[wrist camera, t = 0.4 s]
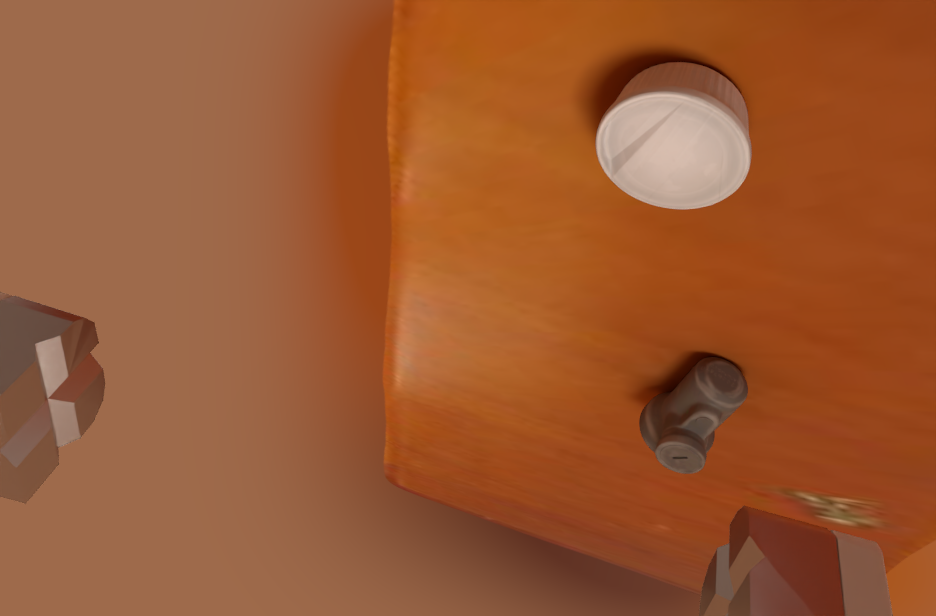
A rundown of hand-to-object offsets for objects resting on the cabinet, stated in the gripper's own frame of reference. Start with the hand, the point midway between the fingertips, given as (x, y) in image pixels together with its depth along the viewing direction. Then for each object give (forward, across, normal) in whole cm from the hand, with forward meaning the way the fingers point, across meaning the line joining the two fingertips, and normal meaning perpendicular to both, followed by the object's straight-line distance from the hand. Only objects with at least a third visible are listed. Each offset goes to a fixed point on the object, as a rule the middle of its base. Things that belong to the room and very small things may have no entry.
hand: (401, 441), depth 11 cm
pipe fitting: (+67, -18, +53) cm, 87 cm away
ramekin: (+57, -6, +20) cm, 61 cm away
